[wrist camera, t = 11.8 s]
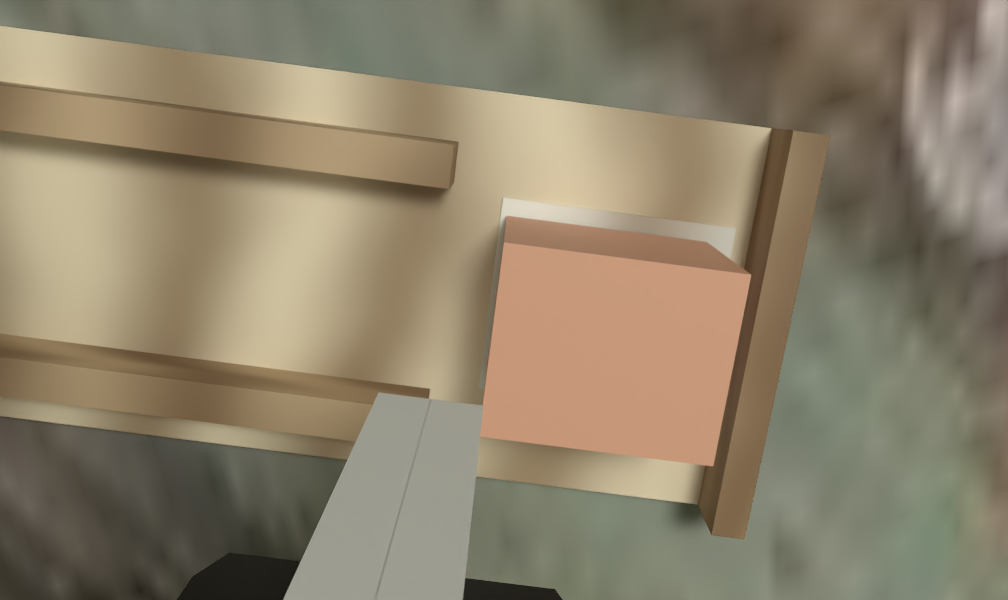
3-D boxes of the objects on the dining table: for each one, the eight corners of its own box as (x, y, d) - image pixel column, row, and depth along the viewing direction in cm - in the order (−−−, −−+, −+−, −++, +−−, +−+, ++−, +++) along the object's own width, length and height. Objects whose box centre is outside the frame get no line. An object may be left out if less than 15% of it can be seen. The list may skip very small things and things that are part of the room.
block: (485, 374, 26) (478, 436, 22) (507, 215, 25) (504, 242, 20) (677, 399, 26) (713, 466, 22) (706, 241, 25) (751, 274, 20)
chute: (4, 403, 28) (-56, 438, 25) (2, 26, 25) (-66, 16, 22) (721, 494, 28) (744, 539, 26) (794, 131, 26) (830, 135, 23)
